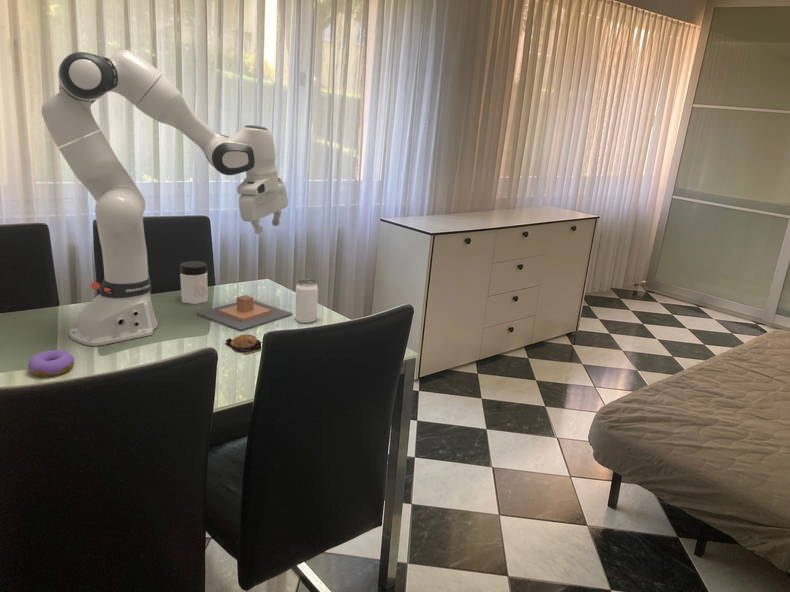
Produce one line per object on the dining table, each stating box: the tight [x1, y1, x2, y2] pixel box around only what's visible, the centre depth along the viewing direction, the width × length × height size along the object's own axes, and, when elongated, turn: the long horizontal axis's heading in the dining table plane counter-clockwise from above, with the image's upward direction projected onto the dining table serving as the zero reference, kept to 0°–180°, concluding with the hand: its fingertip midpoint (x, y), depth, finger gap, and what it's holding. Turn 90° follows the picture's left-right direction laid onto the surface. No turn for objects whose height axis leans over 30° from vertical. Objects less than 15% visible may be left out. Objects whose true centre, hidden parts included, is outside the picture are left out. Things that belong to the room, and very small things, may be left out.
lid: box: [219, 294, 271, 322], centre depth 185 cm, size 11×11×5 cm
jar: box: [179, 260, 209, 305], centre depth 195 cm, size 9×8×12 cm
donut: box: [27, 349, 75, 377], centre depth 143 cm, size 10×9×5 cm
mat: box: [196, 299, 293, 332], centre depth 186 cm, size 20×20×1 cm
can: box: [295, 278, 319, 324], centre depth 183 cm, size 6×6×12 cm
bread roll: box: [224, 333, 263, 356], centre depth 163 cm, size 11×8×4 cm
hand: (267, 229), depth 183 cm, fingers open, 8 cm apart
